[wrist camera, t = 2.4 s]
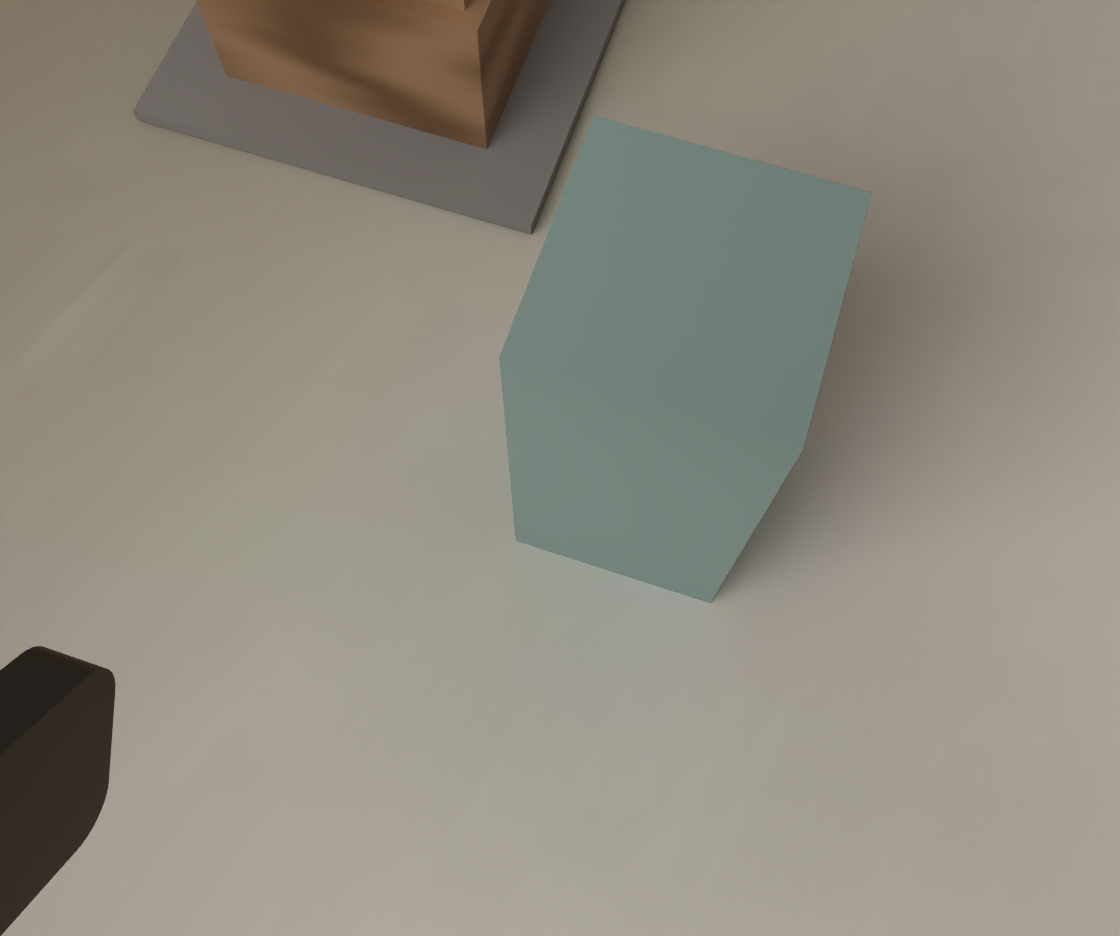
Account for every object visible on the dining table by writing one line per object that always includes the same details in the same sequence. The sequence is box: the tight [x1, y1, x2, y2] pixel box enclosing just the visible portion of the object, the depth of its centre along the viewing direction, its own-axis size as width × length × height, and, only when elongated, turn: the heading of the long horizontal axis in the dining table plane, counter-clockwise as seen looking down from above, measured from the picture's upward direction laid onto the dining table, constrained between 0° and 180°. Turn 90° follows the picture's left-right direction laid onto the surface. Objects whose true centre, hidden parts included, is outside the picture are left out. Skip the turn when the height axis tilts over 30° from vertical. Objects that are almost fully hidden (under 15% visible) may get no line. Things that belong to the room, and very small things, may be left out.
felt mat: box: [133, 0, 624, 234], centre depth 32 cm, size 12×12×1 cm
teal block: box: [500, 116, 872, 603], centre depth 22 cm, size 5×5×10 cm
